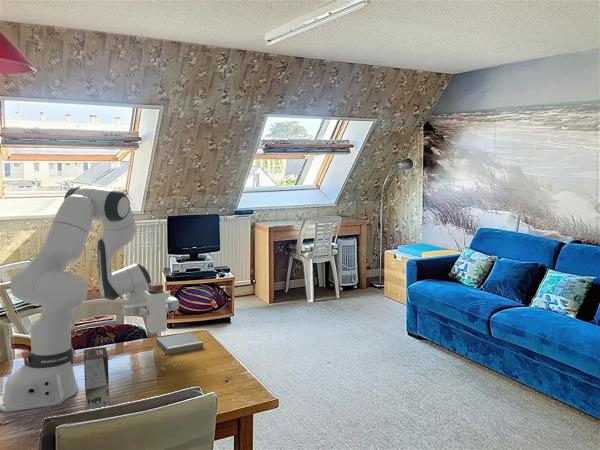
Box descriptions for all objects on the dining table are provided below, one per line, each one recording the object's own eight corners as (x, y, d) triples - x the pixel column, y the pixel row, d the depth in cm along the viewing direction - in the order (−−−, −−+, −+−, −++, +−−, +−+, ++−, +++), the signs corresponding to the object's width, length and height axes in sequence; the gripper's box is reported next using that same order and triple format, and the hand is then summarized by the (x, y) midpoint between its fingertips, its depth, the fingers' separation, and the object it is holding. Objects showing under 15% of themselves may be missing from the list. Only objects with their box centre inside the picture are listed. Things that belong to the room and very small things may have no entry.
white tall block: (150, 334, 184) (149, 295, 183) (144, 328, 190) (144, 290, 188) (168, 331, 188) (167, 292, 186) (162, 326, 193) (161, 288, 192)
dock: (167, 354, 195) (167, 348, 195) (156, 342, 207) (156, 337, 207) (203, 347, 203) (203, 342, 203) (190, 337, 215) (190, 332, 214)
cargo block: (152, 297, 185) (151, 286, 184) (148, 294, 188) (148, 283, 187) (163, 295, 187) (163, 284, 186) (159, 293, 190) (159, 282, 190)
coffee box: (110, 409, 152) (108, 357, 150) (86, 413, 149) (84, 360, 147) (107, 396, 160) (106, 346, 158) (85, 400, 157) (83, 349, 155)
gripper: (117, 297, 193) (127, 307, 181) (171, 291, 204) (183, 299, 192) (118, 314, 194) (127, 324, 182) (171, 307, 205) (183, 316, 193)
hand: (157, 311), depth 187 cm, fingers closed on white tall block, 5 cm apart
